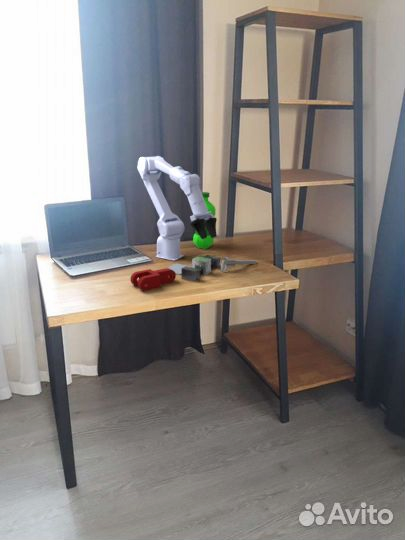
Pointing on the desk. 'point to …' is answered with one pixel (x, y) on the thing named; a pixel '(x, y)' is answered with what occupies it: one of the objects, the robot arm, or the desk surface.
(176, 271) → the mat
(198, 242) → the plastic bottle
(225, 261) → the caliper
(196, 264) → the white block
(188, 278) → the vise
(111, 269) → the desk surface
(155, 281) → the mechanical linkage
